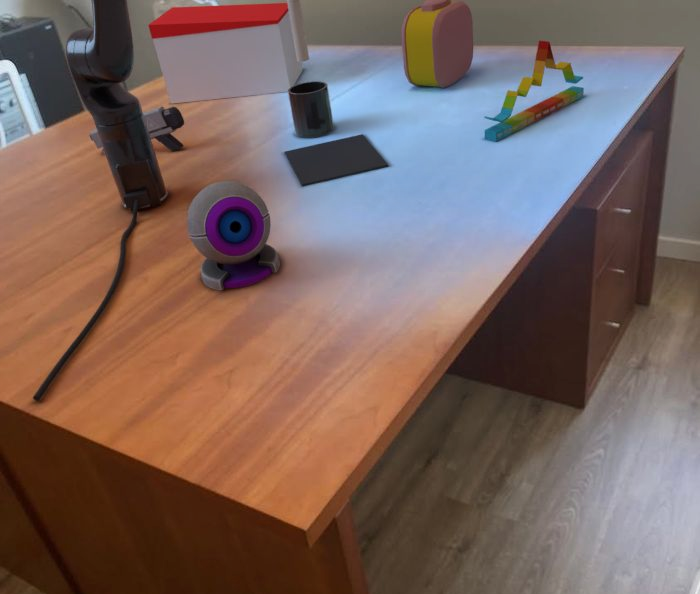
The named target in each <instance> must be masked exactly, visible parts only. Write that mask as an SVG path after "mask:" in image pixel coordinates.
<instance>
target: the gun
mask: <svg viewBox="0 0 700 594" xmlns="http://www.w3.org/2000/svg"><path fill="white" fill-rule="evenodd" d="M143 115H144V118H145V121H146V125H147V128H148V132H149V135H150V138H151V140H153V139H154V140H157V142H159V143H161V144H162V145H163V146H164V147H166V148H167V150H170V151H171V152H176V151H179V150H181V149H183V148H184V143H182V142H181V141H180V140H179V139H178V138H176V137H175V136H174V135H173V134H172V133H175V132H176V131H177V130H178V129H181V128H182V127H184V125H185V119H184V116H183V115H182V113H181V111H180V109H178V108H177V107H176V106H170V107H168V108H165V107H164V106H162V105H161V106H159V107H156V108H153V109H149V110H147V111H143ZM89 138H90V140H91V141H93V143H94V144H95V146H96V148H97V149H101V148H102V149H101V152H102V153H103V154H104V155H106V154H105V151H104V148H103V146H102V143H101V140H100V137H99V134H98V131H97V128H94V129H93V130H91V131H90V132H89Z"/></svg>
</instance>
